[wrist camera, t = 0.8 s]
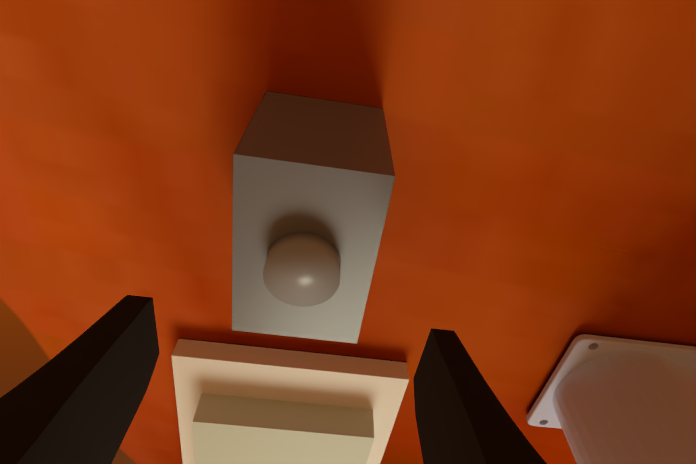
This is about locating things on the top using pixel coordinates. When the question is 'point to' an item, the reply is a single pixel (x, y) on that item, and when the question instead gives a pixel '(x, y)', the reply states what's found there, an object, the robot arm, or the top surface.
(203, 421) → the stand
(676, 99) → the top surface
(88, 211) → the top surface
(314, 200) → the housing
